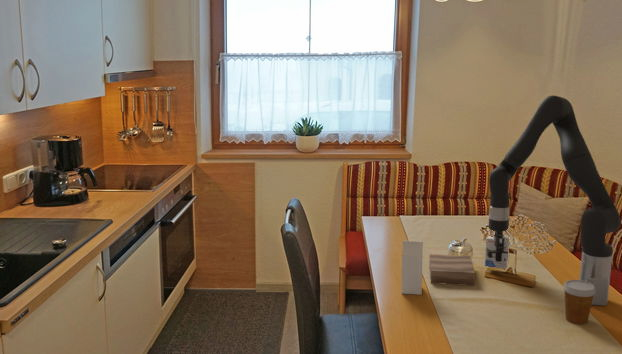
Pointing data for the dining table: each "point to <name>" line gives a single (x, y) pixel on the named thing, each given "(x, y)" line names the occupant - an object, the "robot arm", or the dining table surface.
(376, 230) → the dining table surface
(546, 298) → the dining table surface
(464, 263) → the walnut block
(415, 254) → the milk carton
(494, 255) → the ink box
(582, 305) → the disposable coffee cup
